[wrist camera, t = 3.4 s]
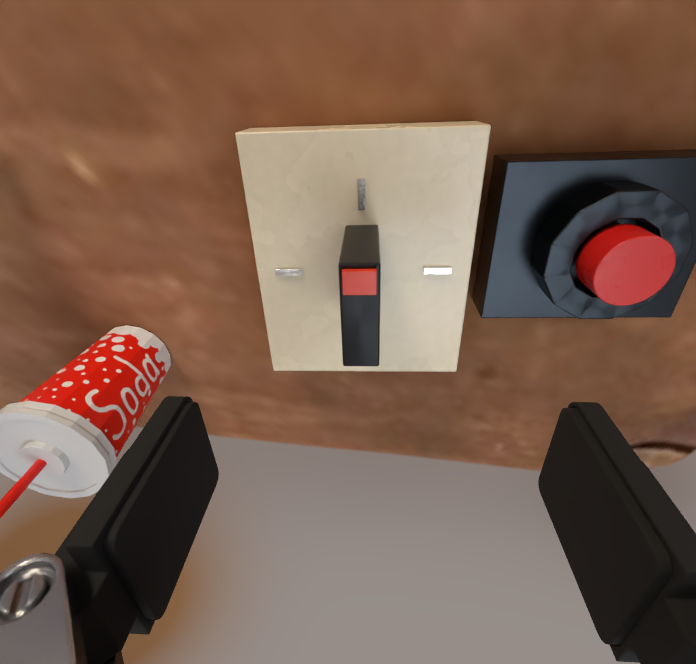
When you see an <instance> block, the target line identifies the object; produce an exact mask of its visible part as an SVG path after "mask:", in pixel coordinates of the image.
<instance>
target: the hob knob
mask: <svg viewBox="0 0 696 664" xmlns="http://www.w3.org/2000/svg"><path fill="white" fill-rule="evenodd" d="M338 271H339V292H340V314H341V335H342V357H343V365H344V366H379V358H380V282H381V261H380V244H379V227H378V225H347V226H345V231H344V236H343V242H342V247H341V253H340V258H339V264H338Z"/></svg>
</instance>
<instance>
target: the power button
mask: <svg viewBox="0 0 696 664" xmlns="http://www.w3.org/2000/svg"><path fill="white" fill-rule="evenodd" d="M675 263H676V256H675V252H674V249H673V247H672V246H671V244H670V243H669V242H668V241H666V240H665V239H663V238H661V237H659V236H657V235H655V234H653V233H651V232H649V231H647V230H646V229H644V228H642V227H640V226H637V225H634V224H627V223H624V224H616V225H612V226H609V227H607V228H604V229H602V230H601V231H599V232H597V233H596V234H594V235H593V236H592V237H591V238H590V239H589V240H588V241H587V242H586V243H585V244H584V245H583V247H582V249H581V250H580V252H579V254H578V257H577V261H576V272H577V276H578V278H579V279H580V281H581V282H582V283H583V284H584V285H585V286H586V287H587V288H588V289H590V290H591V291H592V292H593V293H594V294H595V295H596V296H597V297H598V298H599V299H601V300H602V301H604V302H606V303H608V304H611V305H616V306H626V305H632V304H636V303H639V302H641V301H644V300H646V299H648V298H649V297H651V296H653V295H654V294H655V293H657V292H658V291H659V290H660V289H661V288H662V287H663V286H664V285H665V284H666V283H667V282H668V280H669V279H670V277H671V275H672V273H673V271H674V268H675Z"/></svg>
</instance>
